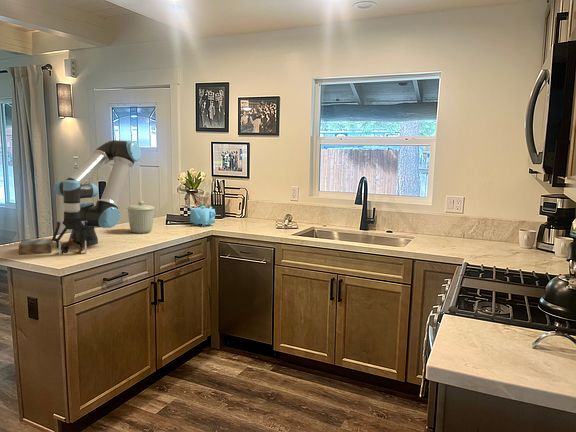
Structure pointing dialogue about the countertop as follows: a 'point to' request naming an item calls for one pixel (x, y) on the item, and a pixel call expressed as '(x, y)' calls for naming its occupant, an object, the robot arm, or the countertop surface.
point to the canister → (141, 217)
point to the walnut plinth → (35, 246)
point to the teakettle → (202, 215)
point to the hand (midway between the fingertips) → (73, 253)
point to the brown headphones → (74, 243)
